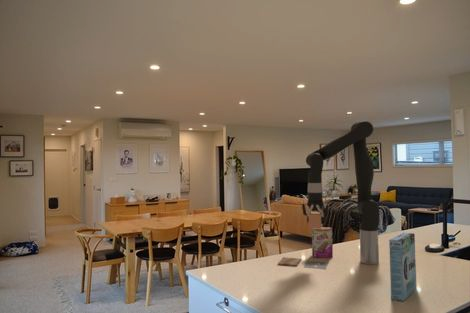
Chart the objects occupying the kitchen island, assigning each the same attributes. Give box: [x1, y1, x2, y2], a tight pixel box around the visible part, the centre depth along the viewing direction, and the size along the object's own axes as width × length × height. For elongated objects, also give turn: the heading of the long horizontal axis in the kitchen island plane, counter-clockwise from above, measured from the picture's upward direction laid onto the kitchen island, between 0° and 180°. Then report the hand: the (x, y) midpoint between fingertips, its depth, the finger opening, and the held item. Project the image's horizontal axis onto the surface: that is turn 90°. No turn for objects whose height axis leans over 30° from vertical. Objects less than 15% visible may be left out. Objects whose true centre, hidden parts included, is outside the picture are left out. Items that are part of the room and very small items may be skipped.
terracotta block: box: [308, 211, 324, 229], centre depth 190 cm, size 6×9×7 cm, turn 160°
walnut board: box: [277, 256, 302, 268], centre depth 194 cm, size 10×13×1 cm
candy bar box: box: [311, 226, 334, 259], centre depth 206 cm, size 11×5×16 cm, turn 84°
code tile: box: [303, 260, 329, 270], centre depth 189 cm, size 11×14×1 cm
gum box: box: [388, 232, 418, 302], centre depth 147 cm, size 20×5×23 cm, turn 140°
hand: (315, 223), depth 190 cm, fingers closed on terracotta block, 6 cm apart
